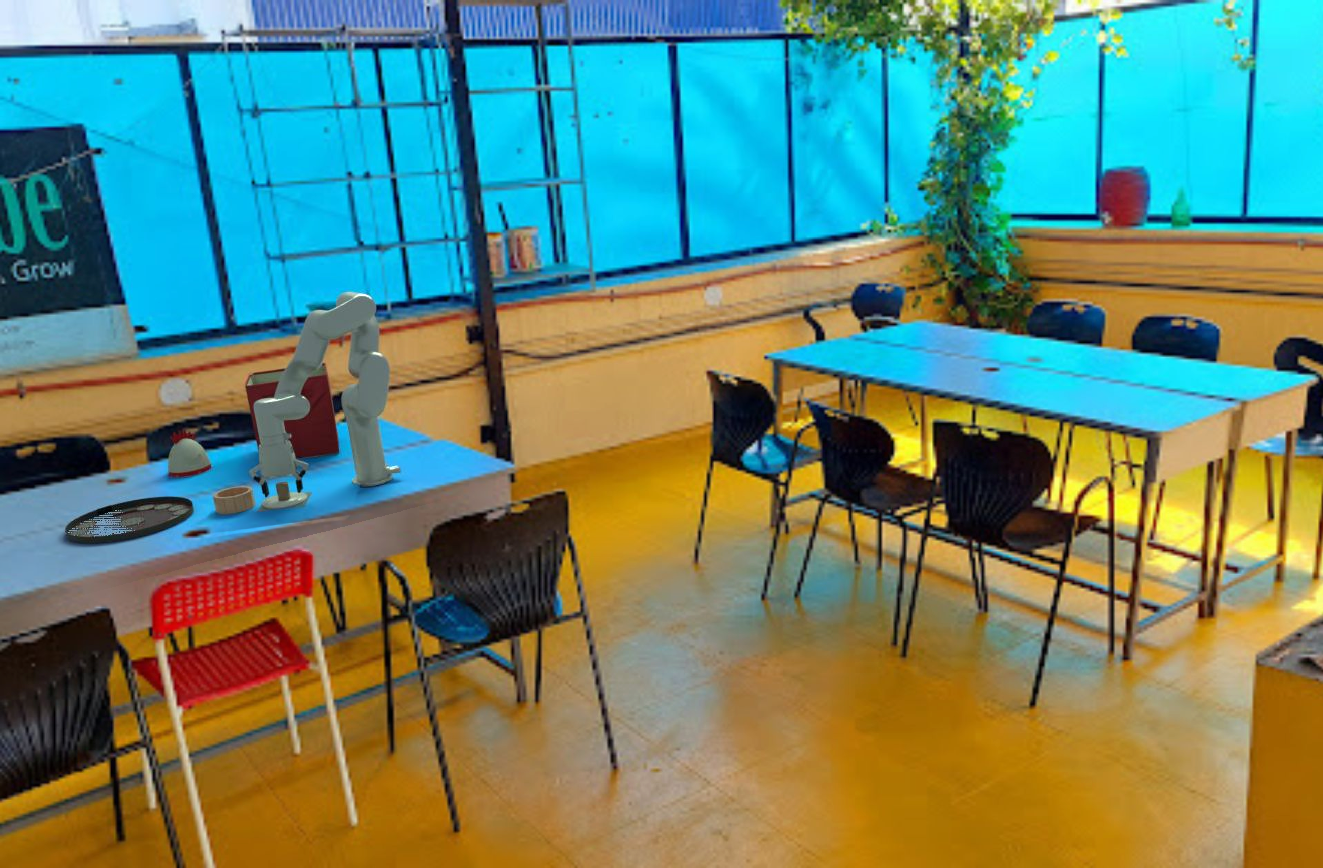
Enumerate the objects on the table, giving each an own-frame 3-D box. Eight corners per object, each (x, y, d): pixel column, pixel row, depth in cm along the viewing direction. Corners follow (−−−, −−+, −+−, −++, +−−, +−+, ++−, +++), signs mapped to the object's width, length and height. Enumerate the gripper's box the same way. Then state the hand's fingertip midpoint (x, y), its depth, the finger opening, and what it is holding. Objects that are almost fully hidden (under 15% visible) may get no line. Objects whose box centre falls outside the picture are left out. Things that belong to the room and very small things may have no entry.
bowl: (259, 502, 338) (255, 484, 337) (251, 514, 328) (247, 495, 326) (222, 507, 337) (218, 489, 336) (213, 519, 327) (209, 500, 325)
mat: (312, 494, 342) (312, 491, 341) (305, 508, 328) (304, 505, 328) (266, 500, 340) (266, 497, 340) (257, 515, 327) (256, 511, 326)
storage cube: (262, 447, 407) (247, 370, 400) (338, 435, 414) (325, 360, 407) (259, 469, 377) (243, 387, 370) (341, 455, 385) (327, 375, 377)
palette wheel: (160, 498, 355) (158, 490, 354) (216, 513, 333) (214, 505, 332) (47, 533, 329) (45, 524, 329) (99, 552, 307) (97, 544, 307)
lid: (310, 492, 341) (307, 474, 339) (303, 505, 328) (299, 487, 327) (267, 497, 339) (264, 480, 338) (258, 511, 327) (254, 492, 325)
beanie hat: (163, 473, 384) (154, 431, 380) (203, 463, 393) (194, 422, 389) (177, 479, 374) (168, 437, 370) (217, 469, 382) (209, 427, 378)
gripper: (305, 432, 333) (314, 486, 338) (246, 439, 331) (256, 493, 336) (300, 439, 326) (310, 493, 331) (240, 446, 324) (251, 501, 329)
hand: (283, 493), depth 333 cm, fingers open, 9 cm apart
